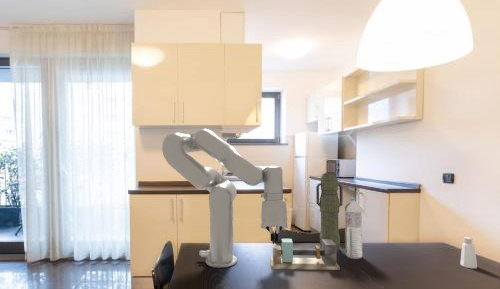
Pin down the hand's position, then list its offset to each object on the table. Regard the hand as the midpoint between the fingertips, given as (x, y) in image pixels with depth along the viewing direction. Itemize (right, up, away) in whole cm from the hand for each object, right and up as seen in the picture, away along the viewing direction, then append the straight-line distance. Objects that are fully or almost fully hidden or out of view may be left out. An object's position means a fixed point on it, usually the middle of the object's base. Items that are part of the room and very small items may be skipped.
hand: (274, 242), depth 109 cm
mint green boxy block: (+5, -7, 0) cm, 8 cm away
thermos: (+27, -9, +17) cm, 33 cm away
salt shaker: (+77, -9, -2) cm, 77 cm away
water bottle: (+35, -9, +8) cm, 37 cm away
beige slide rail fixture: (+11, -8, -1) cm, 14 cm away
